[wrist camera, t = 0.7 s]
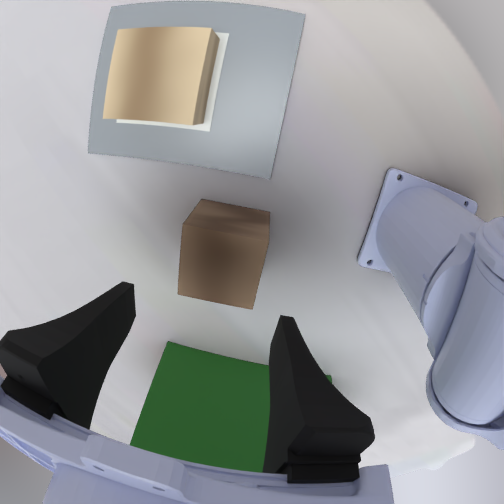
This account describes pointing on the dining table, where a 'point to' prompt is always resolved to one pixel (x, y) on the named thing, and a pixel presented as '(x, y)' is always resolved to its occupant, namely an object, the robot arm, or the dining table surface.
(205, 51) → the oak block
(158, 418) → the hardback book
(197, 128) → the build plate
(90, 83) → the dining table surface
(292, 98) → the dining table surface
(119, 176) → the dining table surface
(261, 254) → the walnut cube
